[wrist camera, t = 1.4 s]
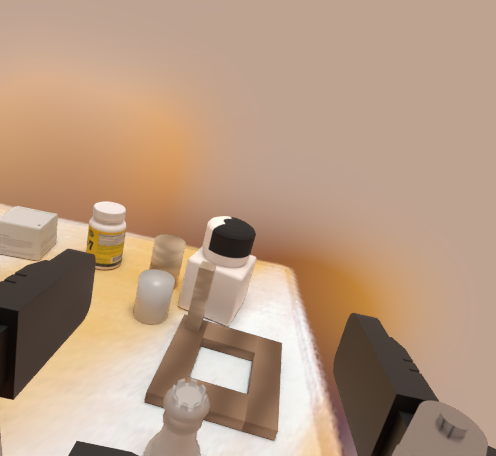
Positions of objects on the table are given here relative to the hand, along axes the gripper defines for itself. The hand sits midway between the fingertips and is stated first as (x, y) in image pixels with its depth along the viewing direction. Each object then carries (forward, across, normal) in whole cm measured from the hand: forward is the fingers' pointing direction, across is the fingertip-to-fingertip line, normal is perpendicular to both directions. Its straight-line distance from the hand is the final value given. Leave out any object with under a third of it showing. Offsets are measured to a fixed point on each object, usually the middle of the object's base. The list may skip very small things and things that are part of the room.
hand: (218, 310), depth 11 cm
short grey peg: (+29, +8, +19) cm, 35 cm away
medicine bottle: (+34, +1, +18) cm, 39 cm away
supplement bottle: (+37, +17, +18) cm, 45 cm away
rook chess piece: (+11, +1, +21) cm, 24 cm away
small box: (+36, +27, +18) cm, 48 cm away
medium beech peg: (+36, +8, +18) cm, 41 cm away
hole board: (+22, -2, +20) cm, 30 cm away
